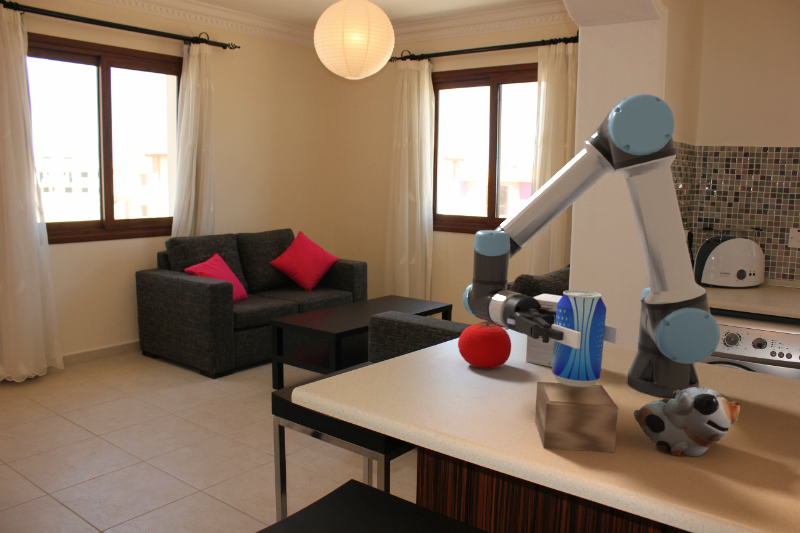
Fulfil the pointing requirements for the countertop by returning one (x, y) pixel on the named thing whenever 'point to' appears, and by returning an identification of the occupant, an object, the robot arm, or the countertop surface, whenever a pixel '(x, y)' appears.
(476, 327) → the tomato
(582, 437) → the block
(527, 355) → the supplement box
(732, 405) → the lucky cat figurine
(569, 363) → the beer can
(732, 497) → the countertop surface
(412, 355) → the countertop surface
